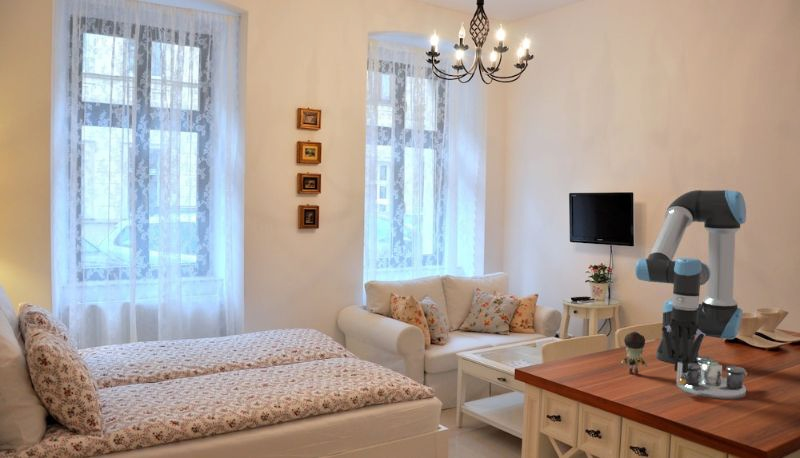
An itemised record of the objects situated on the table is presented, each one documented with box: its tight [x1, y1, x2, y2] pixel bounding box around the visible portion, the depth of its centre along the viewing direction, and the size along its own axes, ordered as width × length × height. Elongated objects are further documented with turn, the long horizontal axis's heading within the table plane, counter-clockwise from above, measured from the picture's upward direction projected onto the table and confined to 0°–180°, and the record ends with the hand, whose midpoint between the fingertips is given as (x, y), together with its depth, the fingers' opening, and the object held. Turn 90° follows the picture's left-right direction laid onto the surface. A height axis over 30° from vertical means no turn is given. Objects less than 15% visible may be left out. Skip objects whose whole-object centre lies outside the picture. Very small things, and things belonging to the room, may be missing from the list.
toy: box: [620, 331, 648, 375], centre depth 219 cm, size 9×7×15 cm
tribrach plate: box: [676, 361, 747, 400], centre depth 203 cm, size 20×20×9 cm
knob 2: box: [696, 355, 719, 377], centre depth 213 cm, size 13×5×6 cm, turn 136°
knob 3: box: [725, 365, 748, 389], centre depth 201 cm, size 13×5×6 cm, turn 137°
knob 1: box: [679, 363, 701, 386], centre depth 198 cm, size 13×5×6 cm, turn 140°
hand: (680, 382), depth 197 cm, fingers closed
